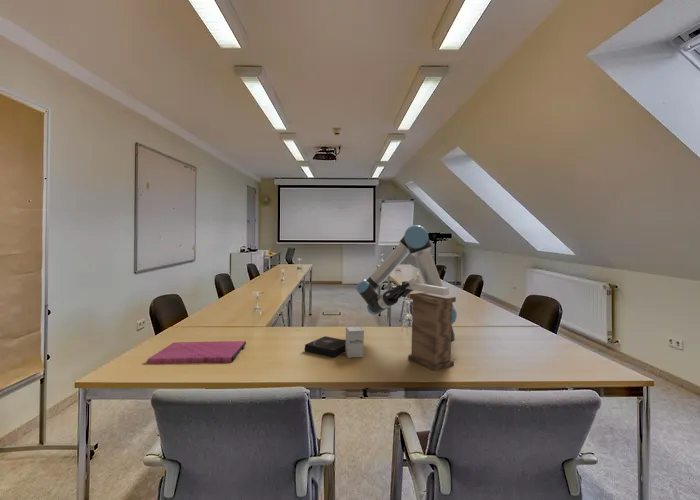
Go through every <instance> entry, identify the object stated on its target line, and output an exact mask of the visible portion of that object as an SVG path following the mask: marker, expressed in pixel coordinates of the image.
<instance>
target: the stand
mask: <svg viewBox="0 0 700 500" xmlns="http://www.w3.org/2000/svg"><path fill="white" fill-rule="evenodd" d="M409 299H411V300H412V310H411V311H412V317H411V321H412V322H411V323H412V324H411V326H412V327H411V354H408V355H407V356H408V357H407V360H409V361H411V362H414V363H416V364H418V365H421V366H423V367H425V368H427V369H430V370H432V371H435V372H436V371H438V370H439V371H440V370H442V369H446V368H449V367H452V366H454V364H455V360H453V359H451V358H452V357H451V355H452V354H451V353H452V341H451V327H452V328H453V324H452V304H453V303H456V300H457V297H456V296H450V295H448V296H446V295H445V296H443V295H438V294H432V293H427V292H418V293H409ZM452 302H453V303H452Z"/></svg>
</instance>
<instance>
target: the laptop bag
mask: <svg viewBox="0 0 700 500" xmlns="http://www.w3.org/2000/svg"><path fill="white" fill-rule="evenodd" d="M246 344H247V341H244V340H243V341H242V340H241V341H239V340H238V341H237V340H232V341H231V340H229V341H228V340H227V341H225V340H223V341H221V340H220V341H179V342H172V343H171V344H169V345H168V346H166V347H165V348H163V349H162V350H160V351H158V352H157V353H155V354H154V355H152V356H150V357H148V358H147V364H203V363H204V364H208V363H209V364H211V363H212V364H214V363H221V364H223V363H233V362H234V361H235V359H236V358H237V357H238V356H239V354H240V353H241V351H242V350H246V348H245V346H246Z"/></svg>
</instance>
